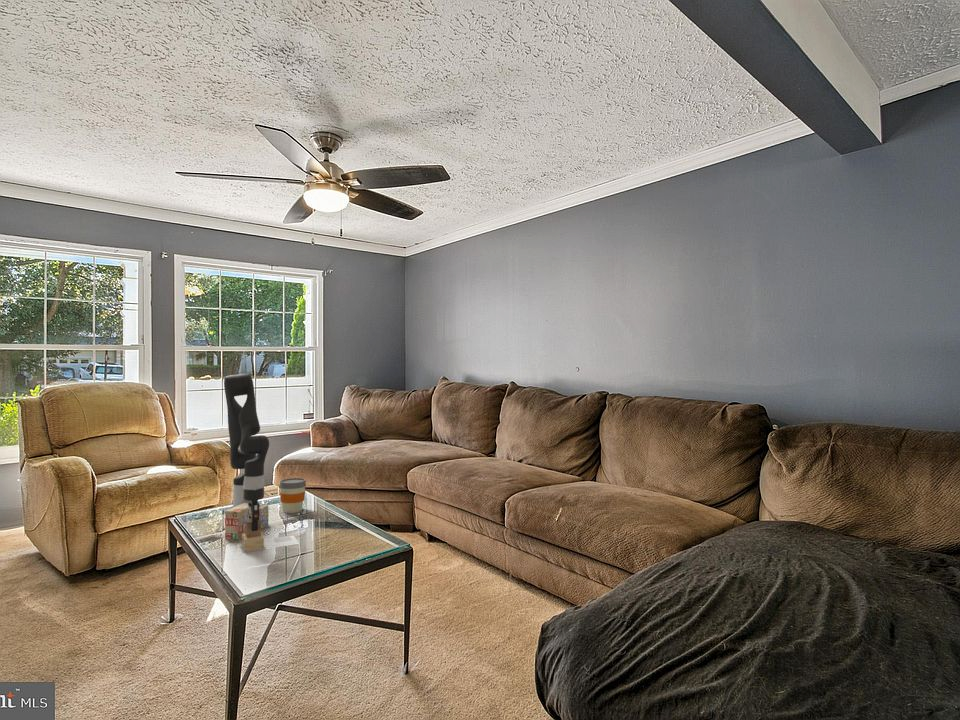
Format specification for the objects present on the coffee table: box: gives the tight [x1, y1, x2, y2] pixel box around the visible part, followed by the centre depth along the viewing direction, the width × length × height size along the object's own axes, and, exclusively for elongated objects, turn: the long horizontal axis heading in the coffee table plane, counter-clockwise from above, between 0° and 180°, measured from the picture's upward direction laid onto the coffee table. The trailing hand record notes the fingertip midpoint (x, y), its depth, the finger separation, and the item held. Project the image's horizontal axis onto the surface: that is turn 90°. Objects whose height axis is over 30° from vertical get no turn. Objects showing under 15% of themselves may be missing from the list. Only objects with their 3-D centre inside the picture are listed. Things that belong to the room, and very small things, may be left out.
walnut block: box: [245, 518, 262, 538], centre depth 200 cm, size 5×5×6 cm
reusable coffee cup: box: [279, 477, 307, 514], centre depth 254 cm, size 13×13×15 cm
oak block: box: [241, 531, 265, 553], centre depth 200 cm, size 7×7×5 cm
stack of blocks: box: [224, 503, 269, 541], centre depth 220 cm, size 21×6×12 cm, turn 170°
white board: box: [236, 535, 300, 554], centre depth 205 cm, size 12×22×1 cm, turn 121°
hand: (253, 527), depth 200 cm, fingers open, 8 cm apart
